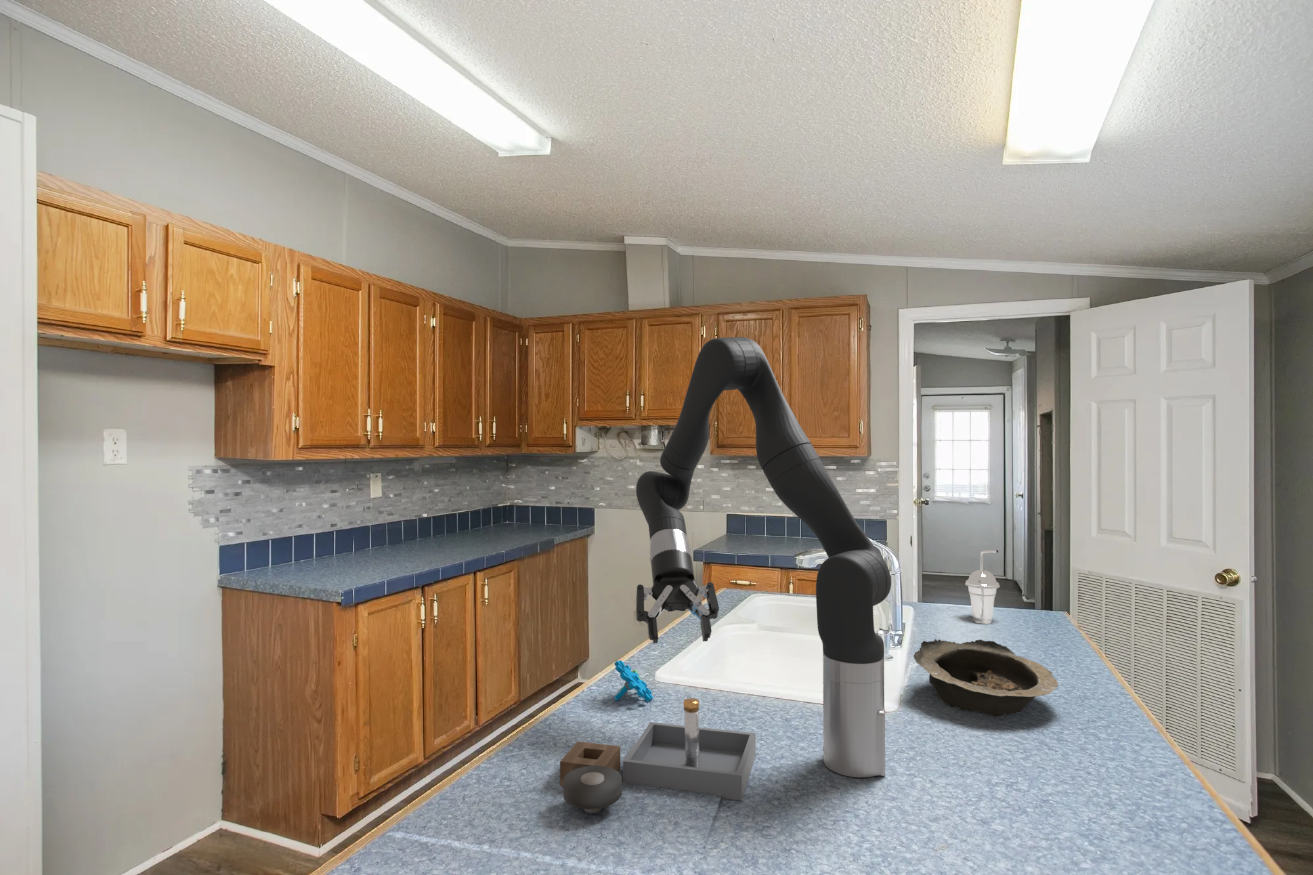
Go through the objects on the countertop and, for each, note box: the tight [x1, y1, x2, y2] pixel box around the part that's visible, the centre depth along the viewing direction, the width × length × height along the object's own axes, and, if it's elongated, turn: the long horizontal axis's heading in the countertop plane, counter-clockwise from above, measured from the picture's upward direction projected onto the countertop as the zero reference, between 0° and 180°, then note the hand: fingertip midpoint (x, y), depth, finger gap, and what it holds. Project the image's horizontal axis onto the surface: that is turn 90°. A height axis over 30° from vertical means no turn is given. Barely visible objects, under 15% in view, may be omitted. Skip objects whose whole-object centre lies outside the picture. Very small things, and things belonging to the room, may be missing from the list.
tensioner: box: [559, 741, 623, 814], centre depth 104 cm, size 11×16×5 cm
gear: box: [613, 659, 654, 703], centre depth 141 cm, size 11×6×10 cm
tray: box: [622, 721, 757, 802], centre depth 111 cm, size 18×15×4 cm
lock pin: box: [683, 697, 700, 768], centre depth 111 cm, size 2×2×10 cm
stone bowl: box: [913, 638, 1059, 717], centre depth 138 cm, size 25×25×9 cm
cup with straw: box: [965, 549, 1001, 625], centre depth 193 cm, size 8×9×20 cm
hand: (681, 640), depth 121 cm, fingers open, 8 cm apart
